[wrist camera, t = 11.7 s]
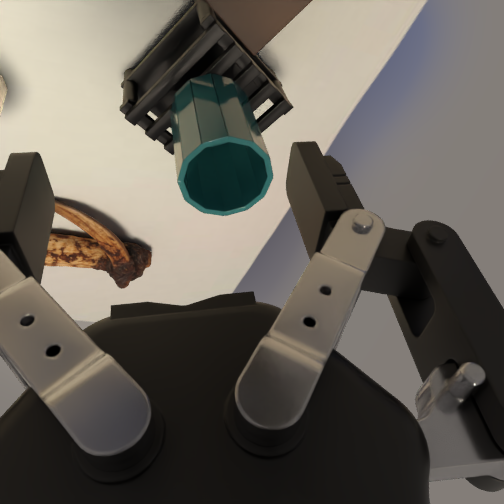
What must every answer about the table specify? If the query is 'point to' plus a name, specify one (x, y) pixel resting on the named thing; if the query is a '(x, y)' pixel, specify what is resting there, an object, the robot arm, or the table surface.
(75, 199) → the table surface
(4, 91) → the milkshake
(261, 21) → the shelf
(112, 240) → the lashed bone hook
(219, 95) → the cup
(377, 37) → the table surface
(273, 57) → the table surface
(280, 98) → the rack
